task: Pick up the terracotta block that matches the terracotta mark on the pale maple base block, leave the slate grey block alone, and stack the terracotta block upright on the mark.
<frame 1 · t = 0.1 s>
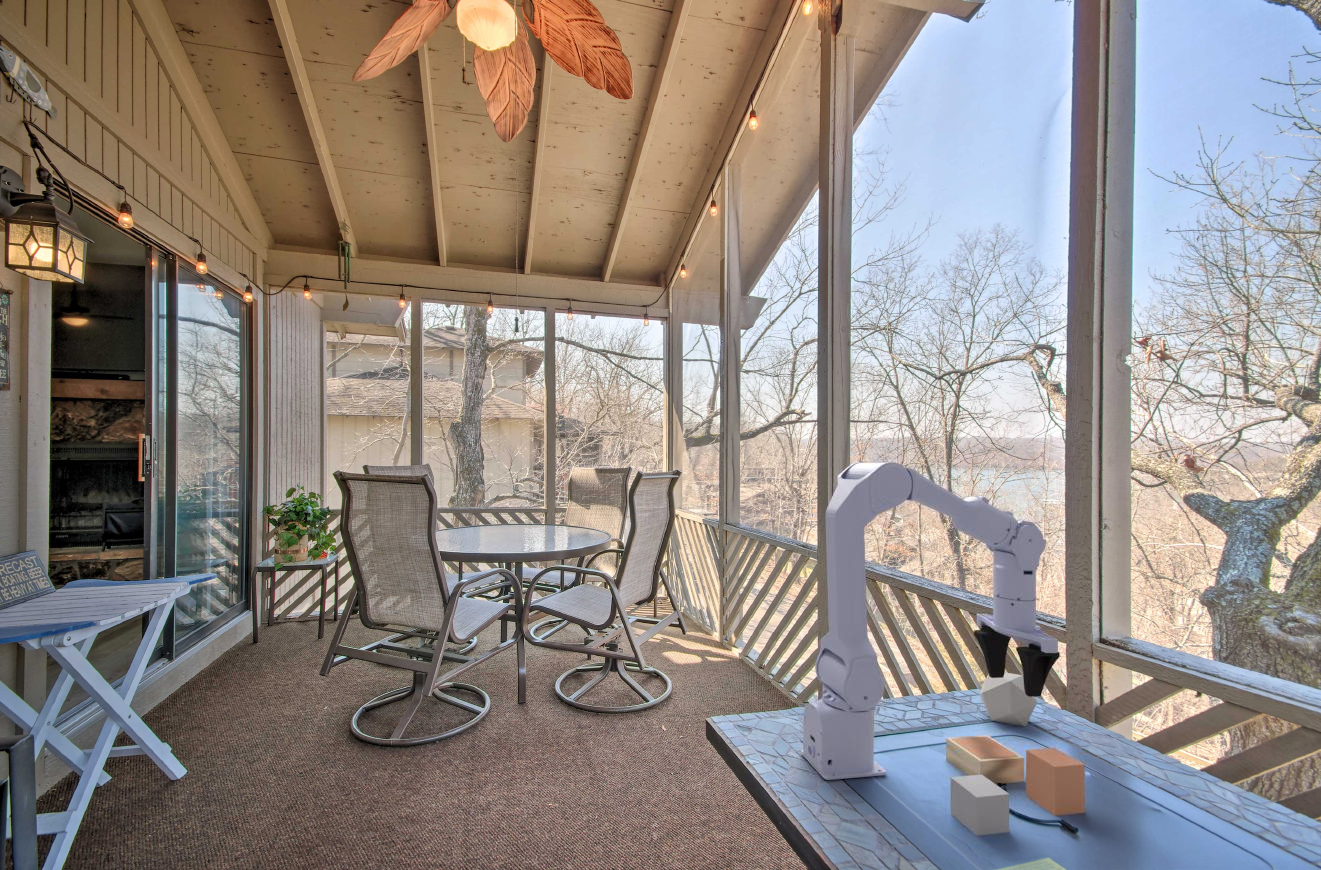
hand: (1014, 686, 92), 10 cm above the table, tool pointing down, fingers open, 7 cm apart
die: (1007, 721, 103), on the table
maple base: (983, 772, 85), on the table
grey block: (979, 823, 73), on the table
terracotta block: (1054, 804, 77), on the table
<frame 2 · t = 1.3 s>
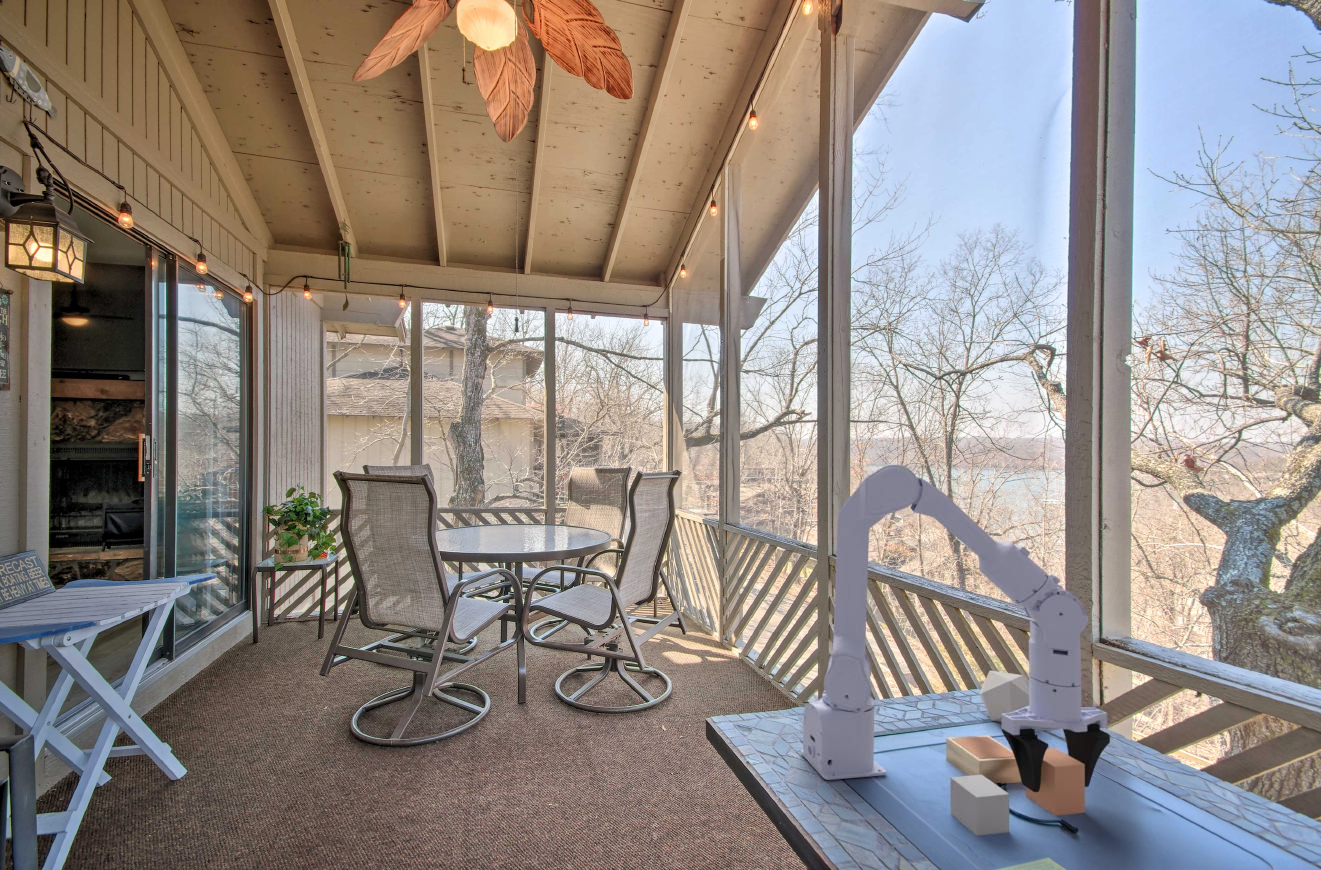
hand: (1055, 785, 77), 2 cm above the table, tool pointing down, fingers open, 7 cm apart
nothing on the table moved.
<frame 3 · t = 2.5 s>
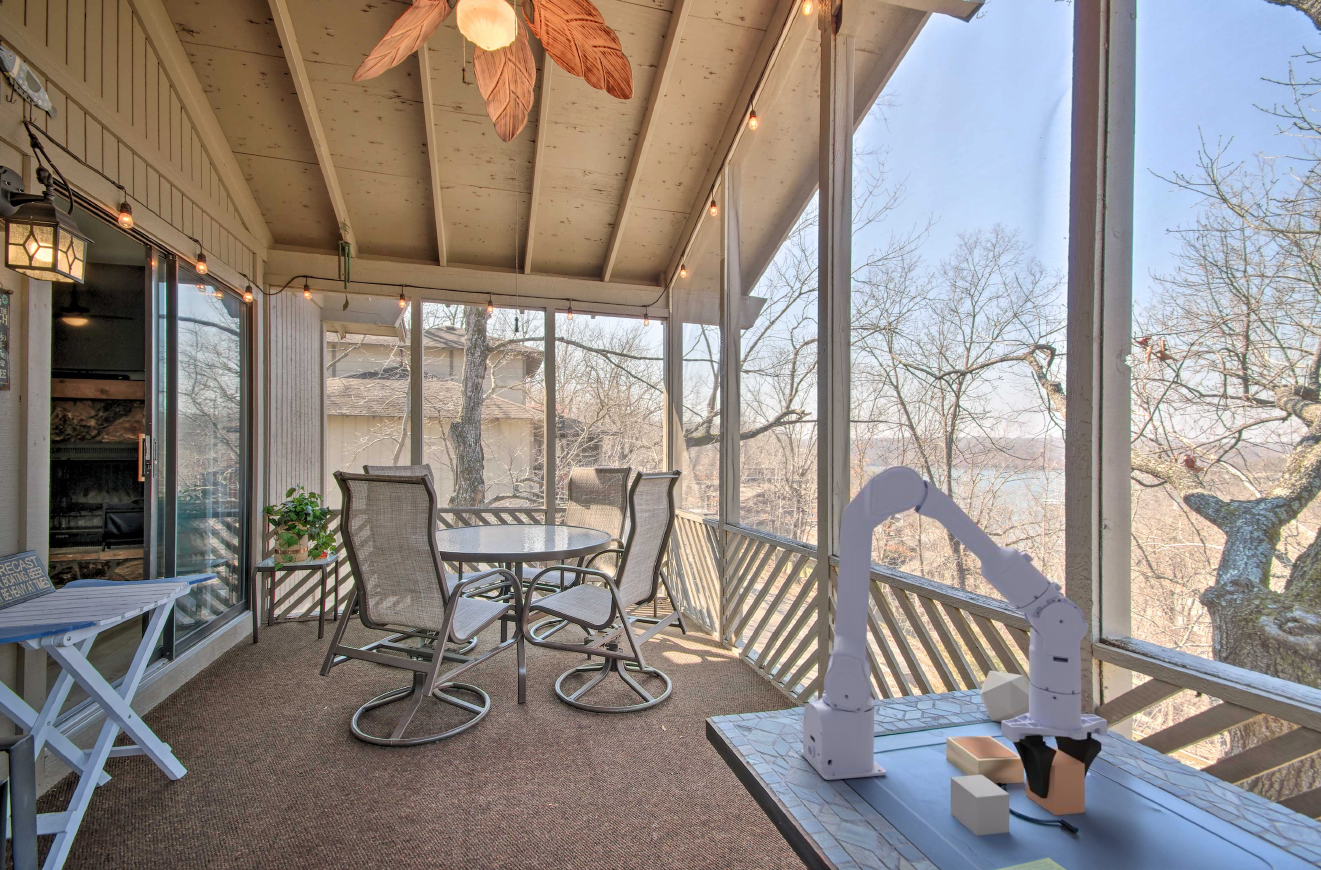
hand: (1054, 792, 77), 1 cm above the table, tool pointing down, fingers closed on terracotta block, 4 cm apart
terracotta block: (1054, 803, 77), on the table, touching gripper
everything else where it was.
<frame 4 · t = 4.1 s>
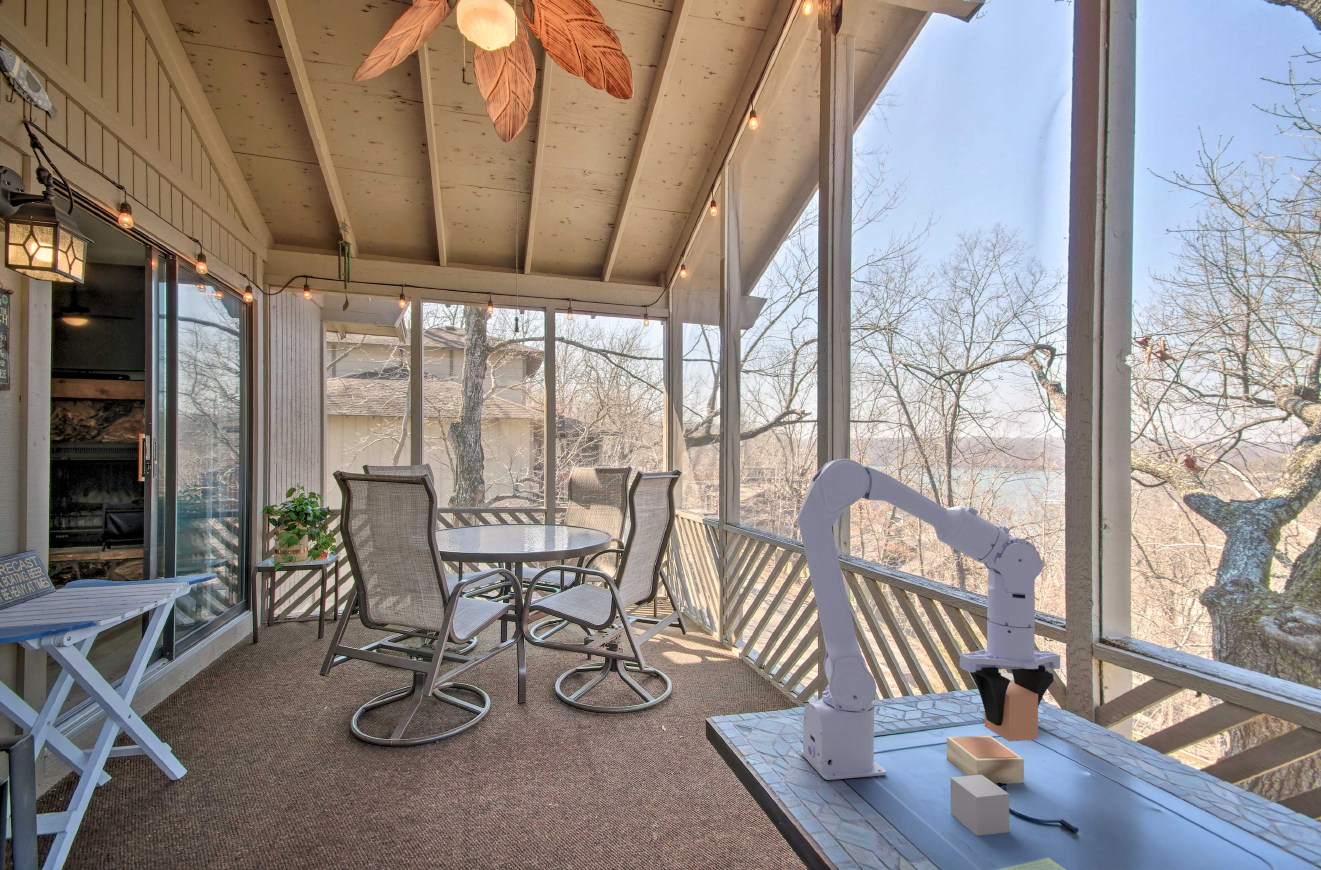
hand: (1009, 721, 83), 8 cm above the table, tool pointing down, fingers closed on terracotta block, 4 cm apart
terracotta block: (1010, 732, 82), point 7 cm above the table, touching gripper
everything else where it was.
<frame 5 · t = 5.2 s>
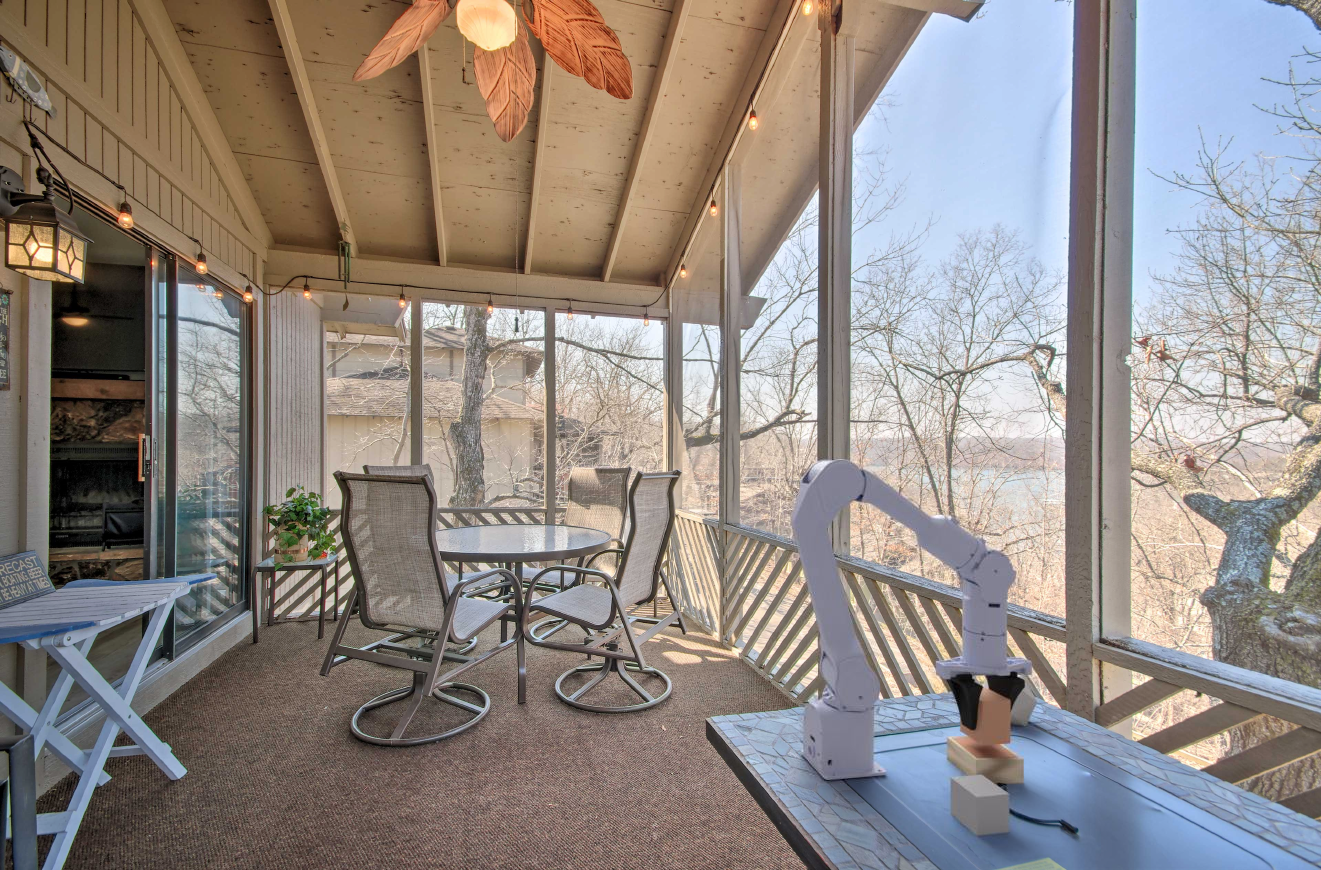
hand: (983, 726, 86), 6 cm above the table, tool pointing down, fingers closed on terracotta block, 4 cm apart
terracotta block: (984, 737, 86), point 5 cm above the table, touching gripper
everything else where it was.
when the fingers open (6 cm above the table, at t = 5.7 s): terracotta block drops 2 cm, resting on maple base.
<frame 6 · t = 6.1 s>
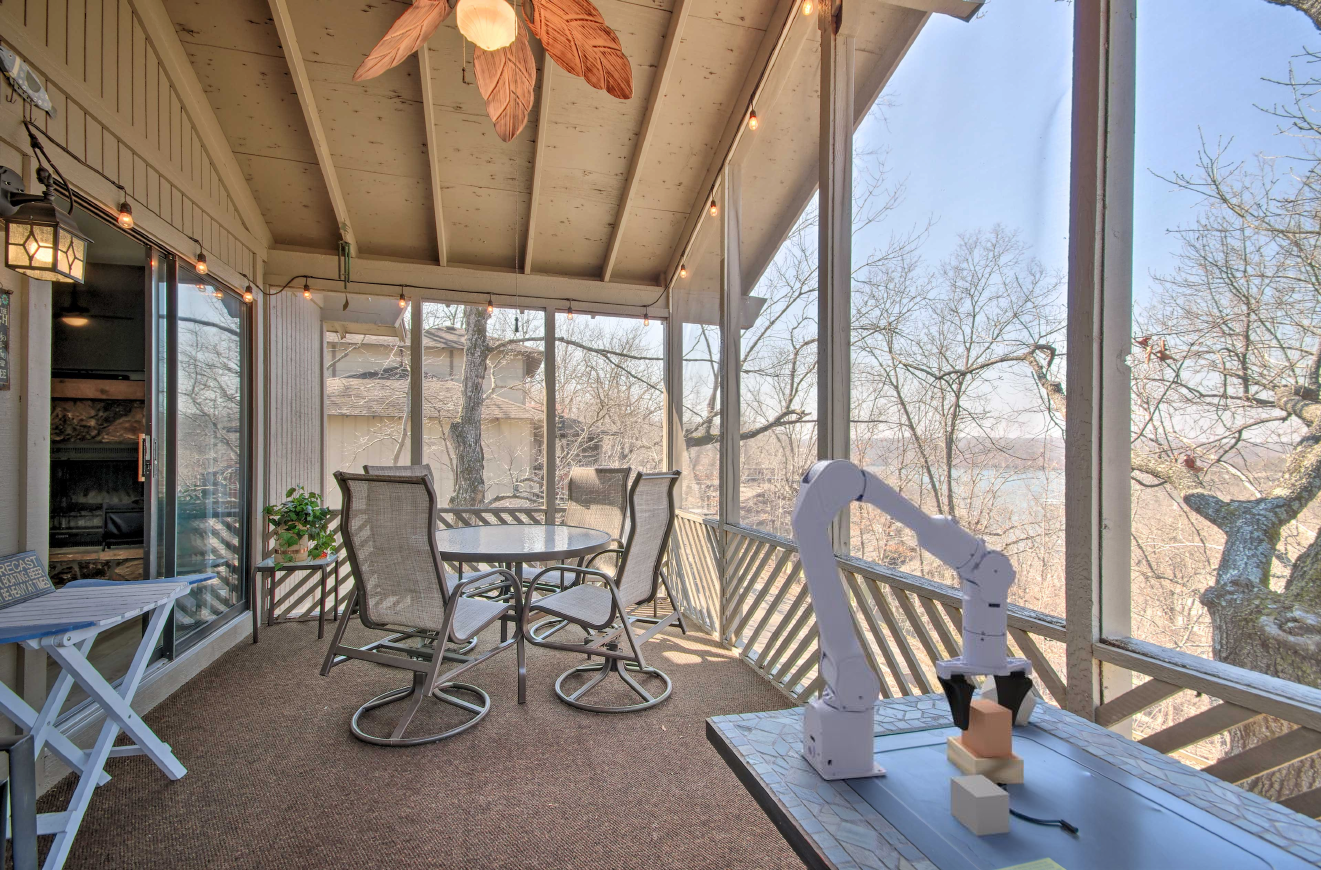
hand: (983, 726, 86), 6 cm above the table, tool pointing down, fingers open, 7 cm apart
maple base: (983, 772, 85), on the table, touching terracotta block
terracotta block: (986, 748, 85), point 3 cm above the table, touching maple base
everything else where it was.
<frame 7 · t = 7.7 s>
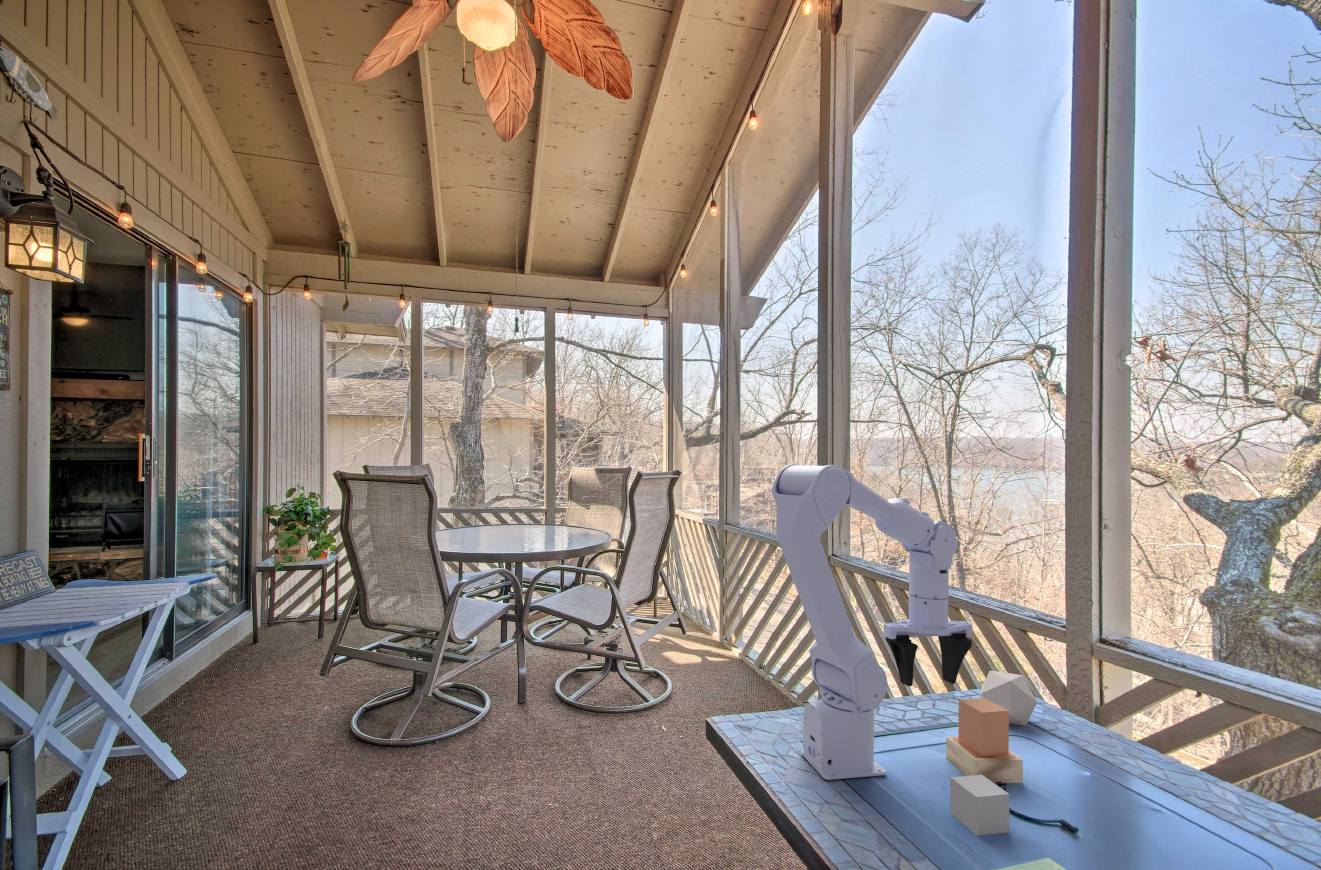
hand: (927, 682, 94), 9 cm above the table, tool pointing down, fingers open, 7 cm apart
maple base: (983, 772, 86), on the table
terracotta block: (983, 747, 86), point 3 cm above the table
everything else where it was.
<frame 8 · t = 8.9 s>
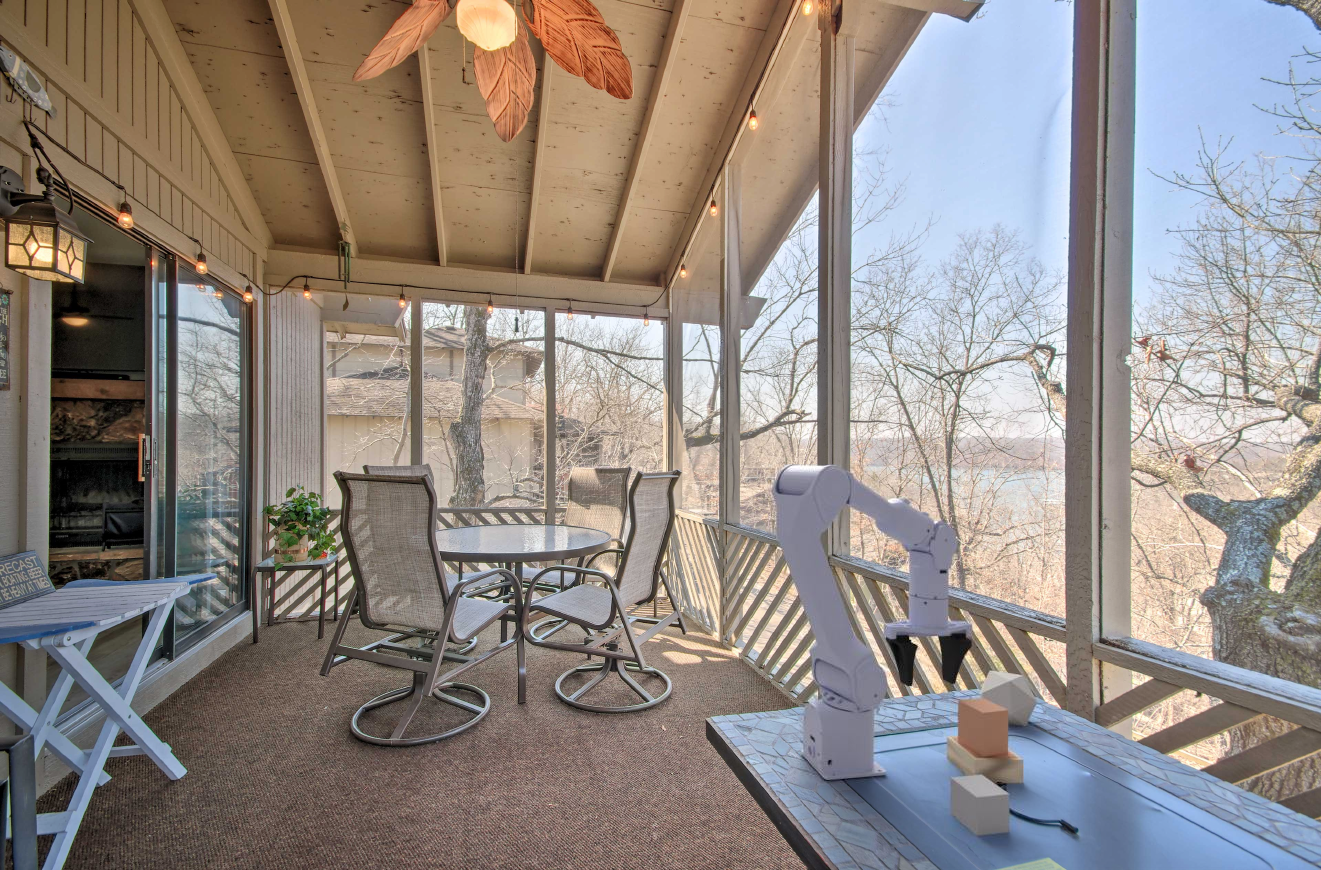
hand: (927, 682, 94), 9 cm above the table, tool pointing down, fingers open, 7 cm apart
nothing on the table moved.
at the end: terracotta block 0.3 cm off-centre on the maple base, point 3.6 cm above the maple base's base; terracotta block tilted 0°; the gripper is holding nothing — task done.
